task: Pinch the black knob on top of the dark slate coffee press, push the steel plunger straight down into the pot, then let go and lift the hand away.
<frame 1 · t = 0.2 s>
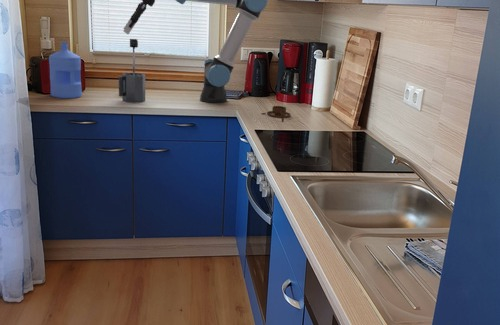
hand: (125, 31, 254), 36 cm above the countertop, tool tilted 35°, fingers open, 13 cm apart
water jug: (66, 96, 271), on the countertop
plunger: (133, 59, 264), point 22 cm above the countertop, slide at 0.0 cm
place setting: (276, 118, 255), on the countertop
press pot: (133, 100, 270), on the countertop
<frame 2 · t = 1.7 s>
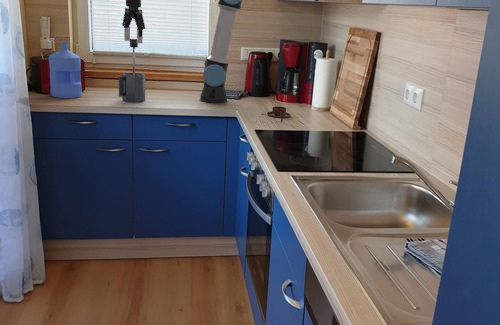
hand: (133, 42, 261), 30 cm above the countertop, tool pointing down, fingers open, 13 cm apart
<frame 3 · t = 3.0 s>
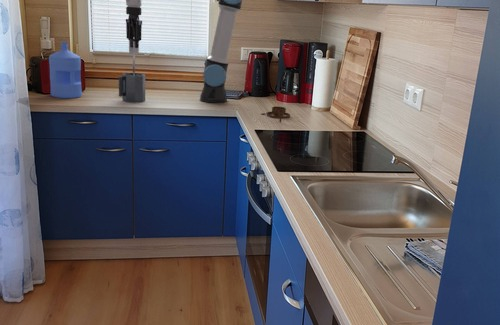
hand: (133, 53, 263), 25 cm above the countertop, tool pointing down, fingers closed on plunger, 4 cm apart
plunger: (133, 59, 264), point 22 cm above the countertop, slide at 0.0 cm, touching gripper
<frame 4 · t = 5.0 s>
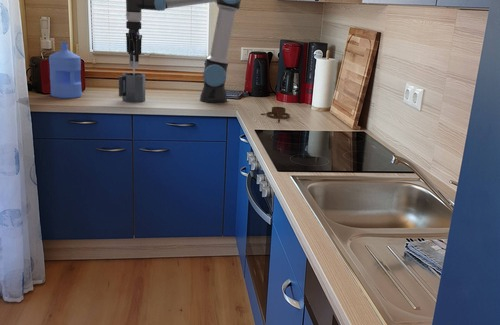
hand: (133, 67, 265), 18 cm above the countertop, tool pointing down, fingers closed on plunger, 4 cm apart
plunger: (133, 72, 266), point 15 cm above the countertop, slide at 7.0 cm, touching gripper
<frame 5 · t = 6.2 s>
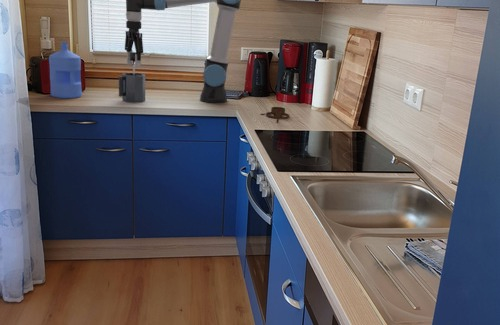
hand: (133, 65, 265), 19 cm above the countertop, tool pointing down, fingers open, 8 cm apart
plunger: (133, 72, 266), point 15 cm above the countertop, slide at 6.8 cm
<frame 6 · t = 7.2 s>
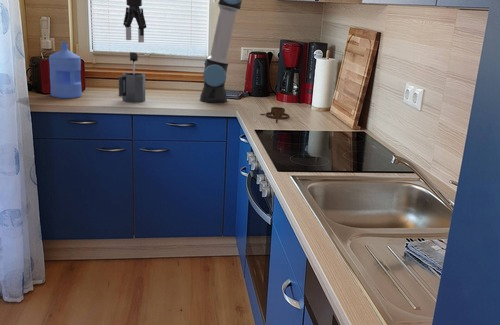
hand: (134, 41, 261), 31 cm above the countertop, tool pointing down, fingers open, 13 cm apart
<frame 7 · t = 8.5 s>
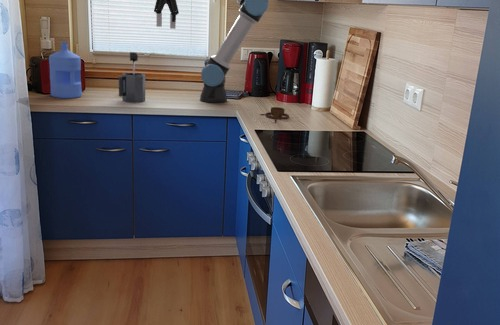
hand: (165, 27, 262), 39 cm above the countertop, tool pointing down, fingers open, 13 cm apart
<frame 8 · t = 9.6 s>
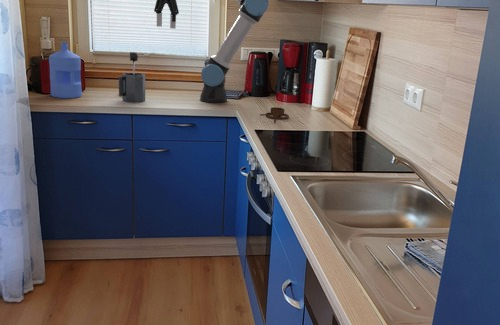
hand: (165, 27, 262), 39 cm above the countertop, tool pointing down, fingers open, 13 cm apart
at the end: plunger slide at 6.8 cm; the gripper is holding nothing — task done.
